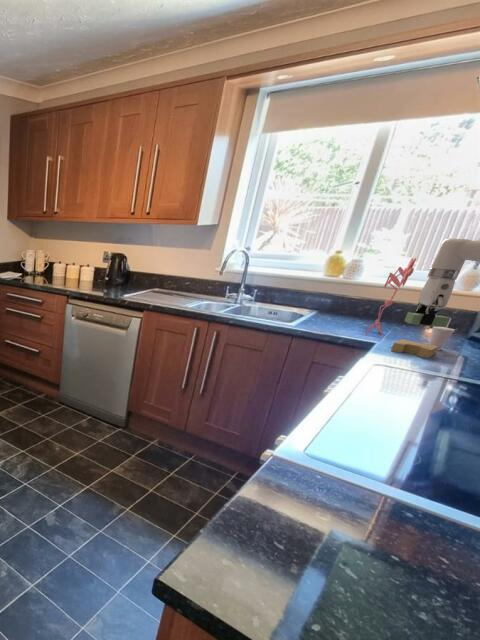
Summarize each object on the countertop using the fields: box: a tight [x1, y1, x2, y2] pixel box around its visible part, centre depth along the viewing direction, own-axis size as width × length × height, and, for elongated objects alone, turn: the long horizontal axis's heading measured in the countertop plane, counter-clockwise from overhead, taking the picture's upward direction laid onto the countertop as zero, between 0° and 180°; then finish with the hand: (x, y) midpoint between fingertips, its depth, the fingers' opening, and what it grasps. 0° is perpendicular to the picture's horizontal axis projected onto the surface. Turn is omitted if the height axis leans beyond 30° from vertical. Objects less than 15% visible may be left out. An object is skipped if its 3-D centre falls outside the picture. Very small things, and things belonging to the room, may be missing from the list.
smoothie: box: [428, 317, 456, 351], centre depth 172 cm, size 6×6×14 cm
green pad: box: [403, 311, 451, 327], centre depth 160 cm, size 6×10×4 cm, turn 64°
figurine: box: [362, 257, 417, 340], centre depth 192 cm, size 15×26×35 cm, turn 136°
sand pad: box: [390, 338, 438, 359], centre depth 170 cm, size 11×11×4 cm
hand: (421, 322), depth 161 cm, fingers closed on green pad, 5 cm apart
